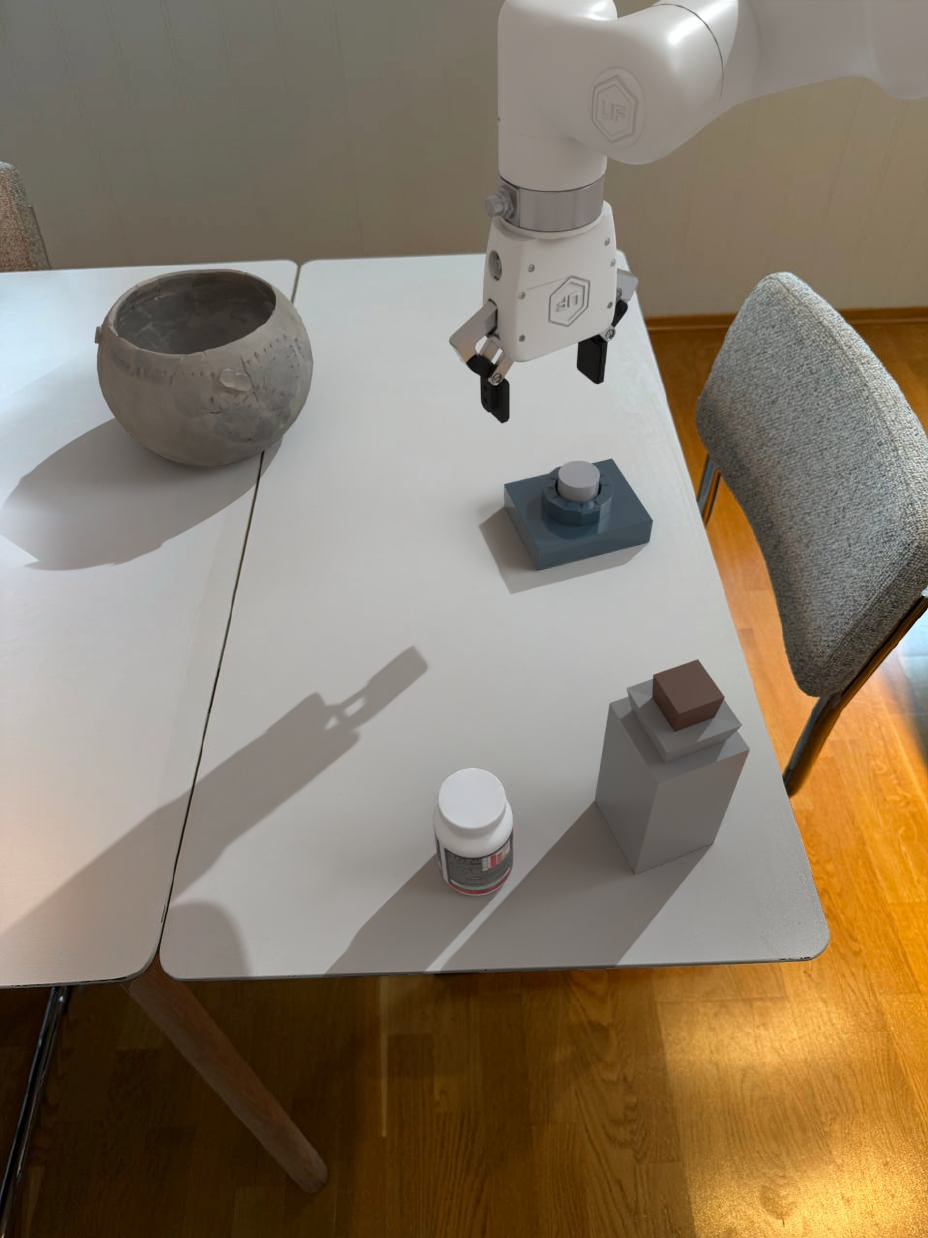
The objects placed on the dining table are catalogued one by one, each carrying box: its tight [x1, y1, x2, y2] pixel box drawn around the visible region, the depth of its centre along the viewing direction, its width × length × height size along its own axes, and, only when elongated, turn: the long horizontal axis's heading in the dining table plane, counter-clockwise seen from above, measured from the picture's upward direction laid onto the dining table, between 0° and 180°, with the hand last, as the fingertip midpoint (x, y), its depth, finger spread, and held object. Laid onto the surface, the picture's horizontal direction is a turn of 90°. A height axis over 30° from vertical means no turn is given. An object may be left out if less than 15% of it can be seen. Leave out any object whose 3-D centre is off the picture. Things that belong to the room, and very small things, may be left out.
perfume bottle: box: [594, 659, 751, 875], centre depth 63 cm, size 7×7×18 cm
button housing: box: [503, 458, 654, 571], centre depth 90 cm, size 12×10×5 cm
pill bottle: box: [432, 767, 514, 897], centre depth 65 cm, size 6×6×10 cm
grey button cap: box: [557, 460, 600, 503], centre depth 88 cm, size 4×4×2 cm
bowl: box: [94, 268, 314, 467], centre depth 99 cm, size 23×23×15 cm
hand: (543, 394), depth 77 cm, fingers open, 9 cm apart
